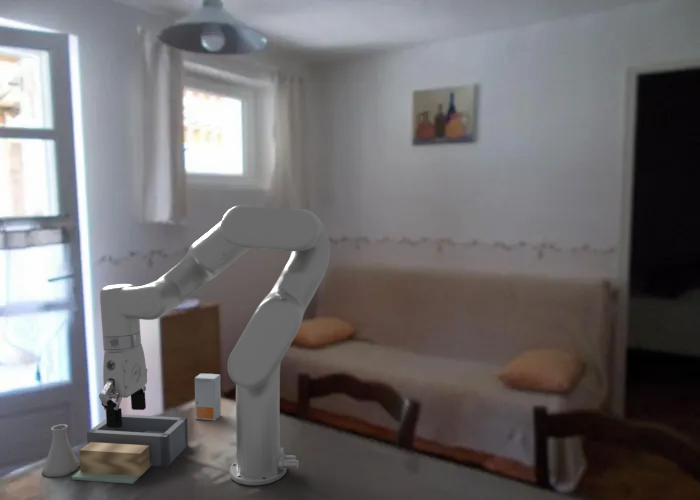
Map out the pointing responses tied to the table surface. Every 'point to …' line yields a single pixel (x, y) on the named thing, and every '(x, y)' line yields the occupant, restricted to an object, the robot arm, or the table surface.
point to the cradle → (146, 435)
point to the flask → (60, 454)
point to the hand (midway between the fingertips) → (127, 417)
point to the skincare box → (207, 396)
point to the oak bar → (114, 458)
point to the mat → (105, 477)
